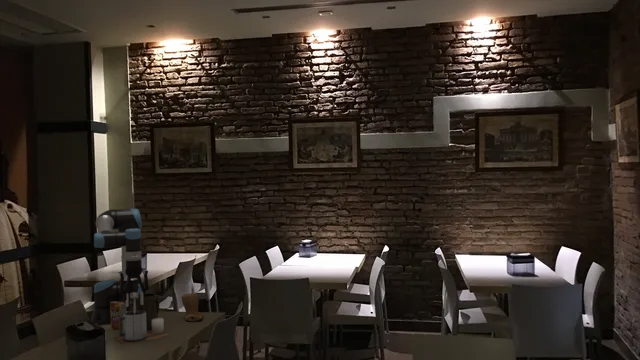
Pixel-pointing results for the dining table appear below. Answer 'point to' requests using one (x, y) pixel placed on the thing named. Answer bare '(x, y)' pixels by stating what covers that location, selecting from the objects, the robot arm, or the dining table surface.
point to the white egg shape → (157, 326)
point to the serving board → (149, 337)
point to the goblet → (134, 299)
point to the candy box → (117, 313)
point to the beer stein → (149, 308)
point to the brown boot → (191, 307)
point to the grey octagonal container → (133, 326)
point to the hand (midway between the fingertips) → (134, 305)
